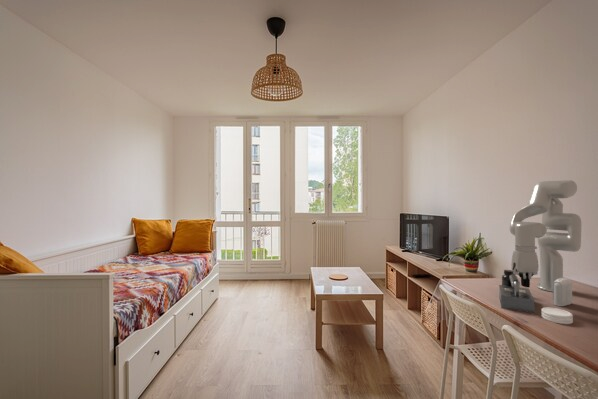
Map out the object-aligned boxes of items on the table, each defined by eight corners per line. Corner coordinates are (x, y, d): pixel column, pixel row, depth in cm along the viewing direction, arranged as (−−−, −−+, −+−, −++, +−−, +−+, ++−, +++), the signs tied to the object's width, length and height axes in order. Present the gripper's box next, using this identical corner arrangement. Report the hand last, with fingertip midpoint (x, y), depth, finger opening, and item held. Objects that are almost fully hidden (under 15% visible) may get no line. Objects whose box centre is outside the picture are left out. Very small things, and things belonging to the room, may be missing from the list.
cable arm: (509, 279, 146) (509, 273, 146) (517, 279, 144) (516, 274, 144) (512, 286, 134) (512, 280, 134) (520, 287, 133) (520, 281, 133)
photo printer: (562, 300, 140) (562, 276, 140) (573, 303, 136) (573, 278, 136) (551, 304, 136) (551, 278, 136) (562, 307, 132) (562, 281, 132)
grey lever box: (499, 296, 148) (498, 272, 148) (528, 300, 142) (528, 275, 142) (501, 307, 133) (500, 281, 133) (534, 313, 126) (533, 285, 126)
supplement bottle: (520, 295, 149) (520, 272, 149) (505, 294, 150) (505, 272, 150) (513, 291, 156) (513, 269, 156) (499, 290, 157) (499, 268, 157)
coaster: (541, 312, 127) (540, 305, 127) (571, 318, 121) (571, 310, 121) (541, 320, 120) (541, 312, 120) (574, 327, 113) (574, 318, 113)
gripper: (534, 247, 141) (535, 284, 142) (503, 247, 142) (504, 284, 142) (547, 250, 134) (547, 289, 134) (514, 250, 135) (515, 289, 135)
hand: (525, 286), depth 138 cm, fingers closed
